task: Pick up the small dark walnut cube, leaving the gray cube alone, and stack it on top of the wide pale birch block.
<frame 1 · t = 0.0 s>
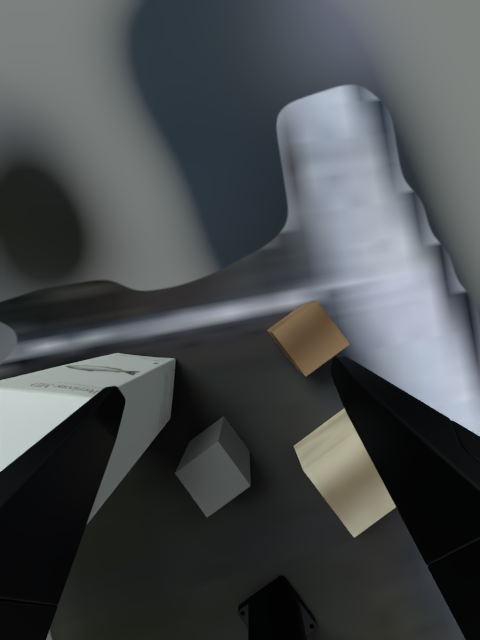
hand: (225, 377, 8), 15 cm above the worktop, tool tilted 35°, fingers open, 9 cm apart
walnut cube: (296, 334, 23), on the worktop
birch block: (341, 451, 23), on the worktop
supplement box: (144, 384, 24), on the worktop
gray cube: (219, 445, 23), on the worktop
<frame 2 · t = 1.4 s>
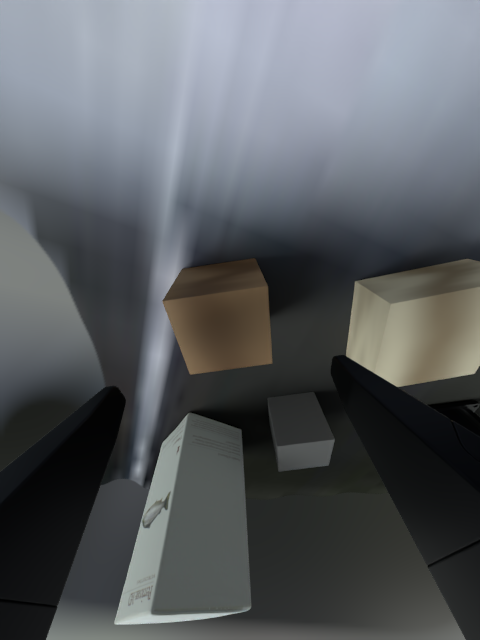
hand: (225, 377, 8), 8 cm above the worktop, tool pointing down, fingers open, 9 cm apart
walnut cube: (224, 296, 15), on the worktop
birch block: (395, 314, 17), on the worktop
supplement box: (201, 433, 25), on the worktop
gray cube: (290, 408, 23), on the worktop
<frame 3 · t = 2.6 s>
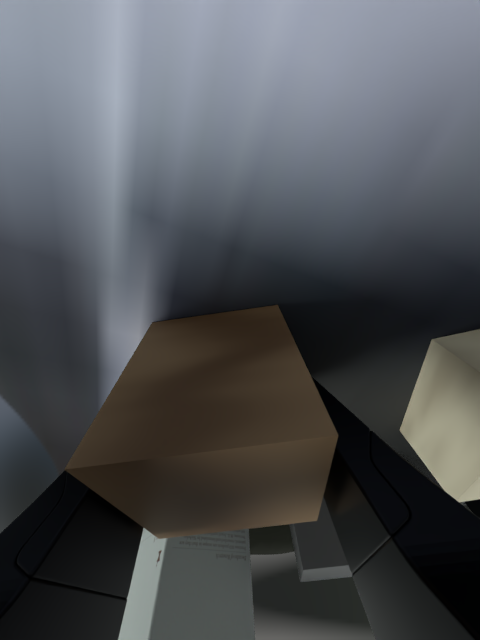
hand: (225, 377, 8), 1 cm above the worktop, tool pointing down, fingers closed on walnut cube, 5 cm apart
walnut cube: (225, 360, 9), on the worktop, touching gripper
supplement box: (195, 504, 19), on the worktop
gray cube: (312, 479, 17), on the worktop
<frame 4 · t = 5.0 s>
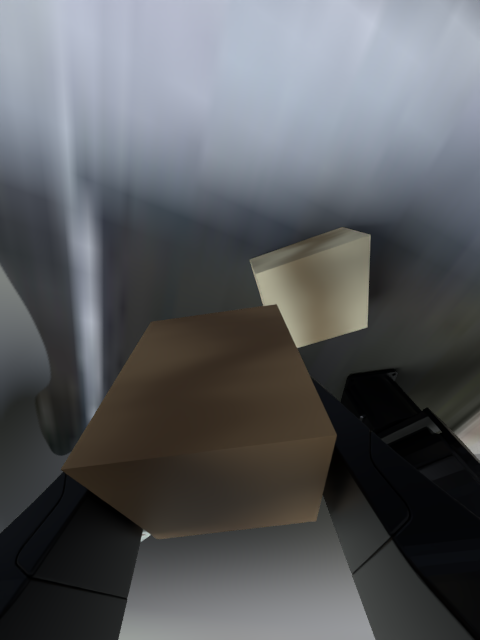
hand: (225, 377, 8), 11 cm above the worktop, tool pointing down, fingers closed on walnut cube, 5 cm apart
walnut cube: (224, 359, 9), point 10 cm above the worktop, touching gripper
birch block: (300, 284, 19), on the worktop
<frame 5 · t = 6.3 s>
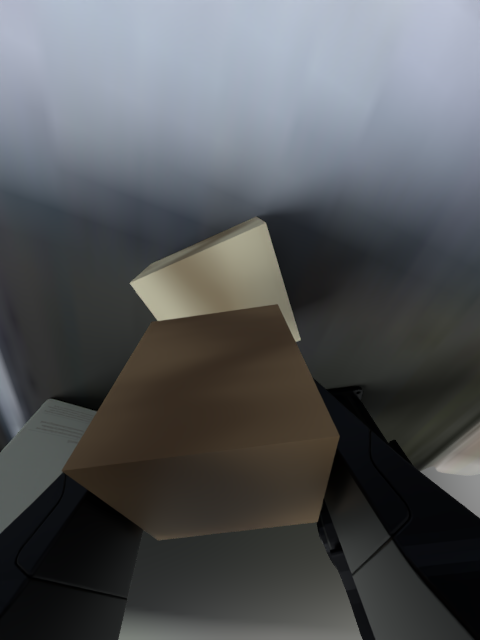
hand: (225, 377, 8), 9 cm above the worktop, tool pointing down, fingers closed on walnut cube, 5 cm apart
walnut cube: (225, 359, 9), point 8 cm above the worktop, touching gripper
birch block: (225, 289, 16), on the worktop
supplement box: (79, 421, 24), on the worktop
when the fingers open (6 cm above the worktop, at t = 7.2 s): walnut cube drops 2 cm, resting on birch block.
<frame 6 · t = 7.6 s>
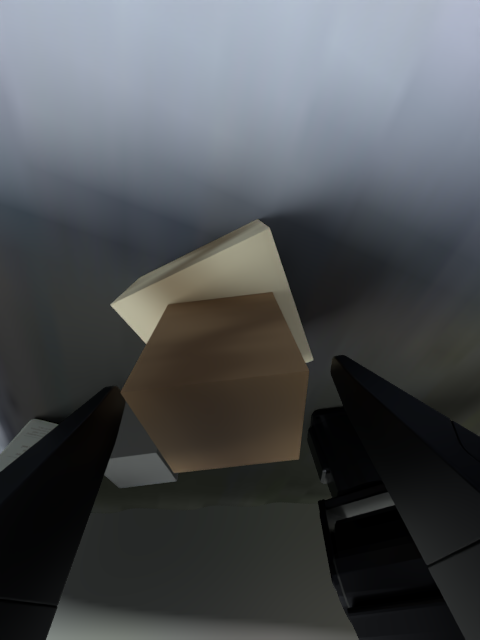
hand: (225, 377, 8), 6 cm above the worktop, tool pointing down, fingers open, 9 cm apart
walnut cube: (227, 339, 11), point 4 cm above the worktop, touching birch block
birch block: (225, 302, 14), on the worktop, touching walnut cube
supplement box: (67, 441, 22), on the worktop
gray cube: (155, 413, 20), on the worktop
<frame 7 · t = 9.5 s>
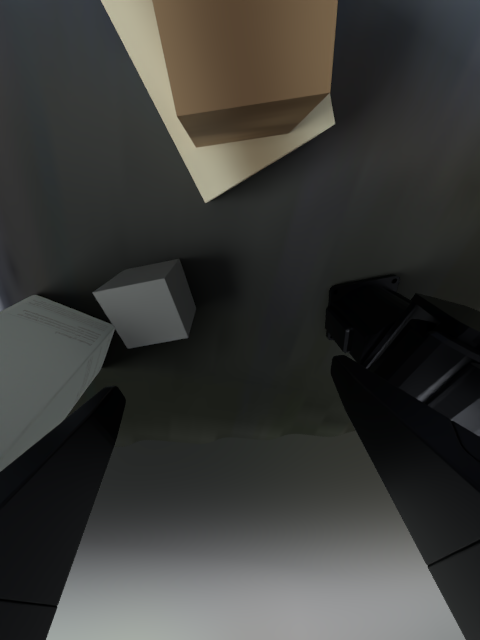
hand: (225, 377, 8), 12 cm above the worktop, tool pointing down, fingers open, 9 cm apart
walnut cube: (235, 70, 9), point 4 cm above the worktop, touching birch block
birch block: (231, 103, 13), on the worktop, touching walnut cube
supplement box: (73, 334, 21), on the worktop
gray cube: (162, 289, 19), on the worktop
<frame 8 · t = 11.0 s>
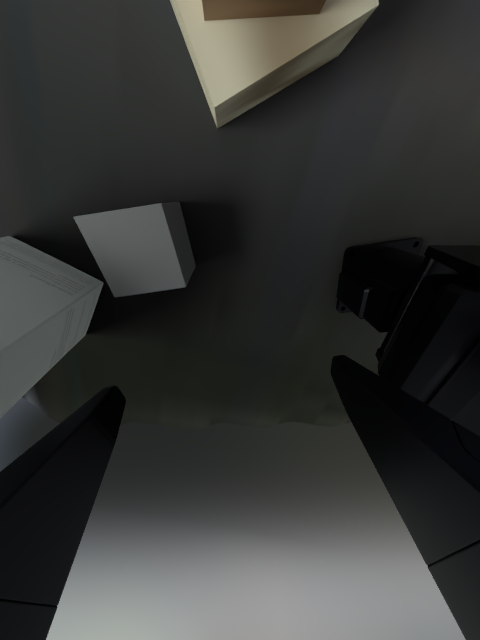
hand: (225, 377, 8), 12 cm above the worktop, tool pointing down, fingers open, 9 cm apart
supplement box: (54, 291, 18), on the worktop
gray cube: (159, 240, 17), on the worktop
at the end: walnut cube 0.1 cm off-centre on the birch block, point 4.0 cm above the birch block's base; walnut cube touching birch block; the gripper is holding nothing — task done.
